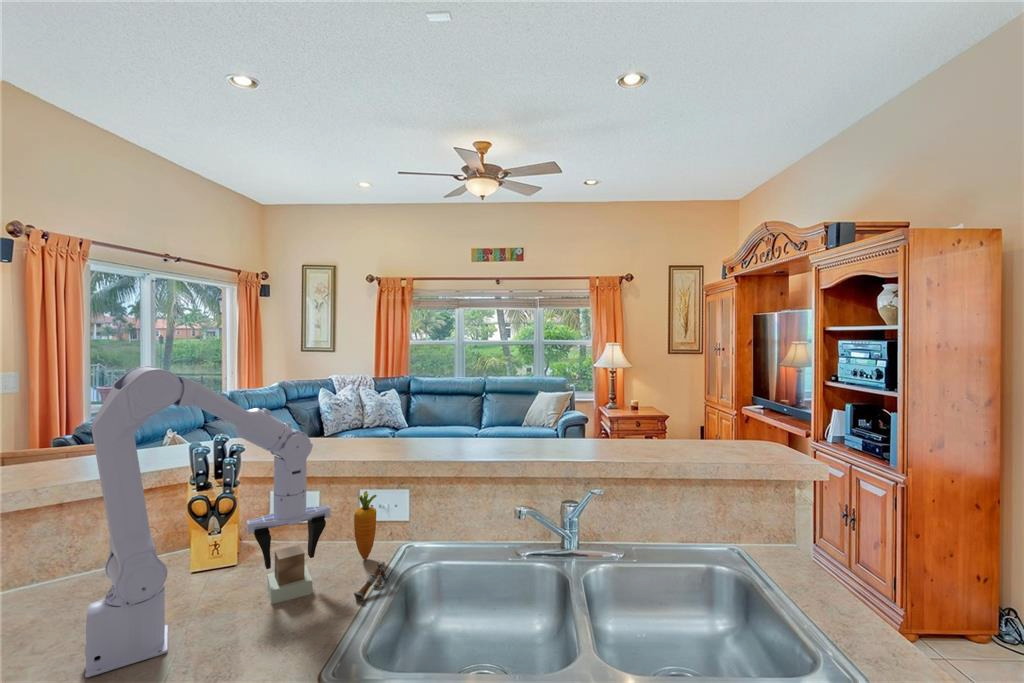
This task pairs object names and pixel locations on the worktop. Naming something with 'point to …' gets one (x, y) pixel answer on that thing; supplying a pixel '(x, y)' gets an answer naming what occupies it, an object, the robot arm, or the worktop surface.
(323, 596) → the worktop surface
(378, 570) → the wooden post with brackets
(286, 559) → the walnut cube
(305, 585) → the base block
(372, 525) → the carrot
